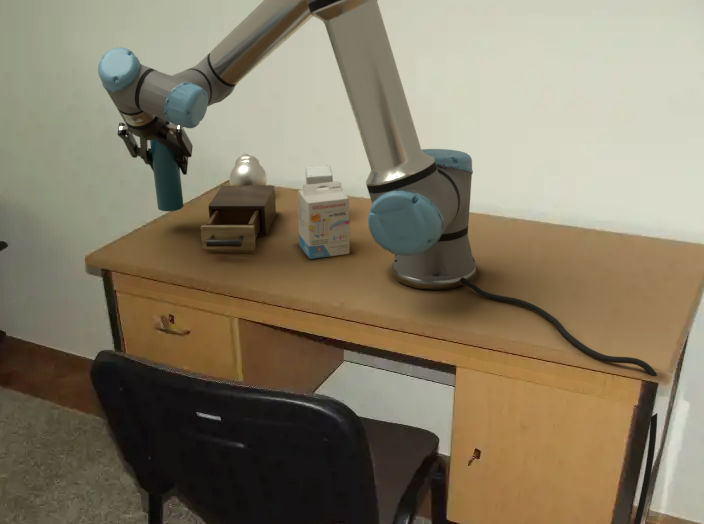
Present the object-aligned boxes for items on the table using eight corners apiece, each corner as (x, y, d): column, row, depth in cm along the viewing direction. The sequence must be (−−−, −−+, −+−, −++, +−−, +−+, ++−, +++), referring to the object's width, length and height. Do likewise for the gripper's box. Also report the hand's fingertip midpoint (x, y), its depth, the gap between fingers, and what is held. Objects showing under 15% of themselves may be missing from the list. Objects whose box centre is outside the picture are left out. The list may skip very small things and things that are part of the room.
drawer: (251, 257, 175) (249, 234, 172) (197, 256, 177) (195, 234, 174) (264, 227, 189) (263, 206, 186) (215, 227, 191) (213, 206, 188)
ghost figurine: (273, 191, 213) (271, 150, 208) (261, 204, 205) (258, 162, 200) (238, 190, 215) (235, 149, 210) (225, 202, 208) (221, 160, 203)
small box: (333, 222, 191) (332, 175, 186) (308, 224, 192) (306, 176, 186) (331, 210, 198) (330, 164, 193) (306, 211, 199) (305, 165, 193)
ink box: (308, 260, 174) (306, 194, 167) (298, 245, 181) (296, 181, 175) (350, 254, 175) (350, 188, 169) (338, 239, 183) (337, 176, 176)
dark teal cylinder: (189, 206, 191) (181, 127, 182) (166, 213, 188) (157, 133, 179) (174, 200, 195) (166, 123, 186) (152, 207, 192) (142, 129, 183)
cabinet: (266, 235, 187) (264, 205, 184) (210, 235, 189) (208, 205, 186) (276, 213, 199) (274, 185, 195) (223, 213, 201) (221, 185, 198)
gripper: (92, 128, 169) (128, 184, 192) (185, 127, 166) (211, 184, 188) (97, 94, 171) (132, 153, 193) (189, 92, 168) (214, 153, 190)
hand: (171, 168), depth 191 cm, fingers closed on dark teal cylinder, 6 cm apart
